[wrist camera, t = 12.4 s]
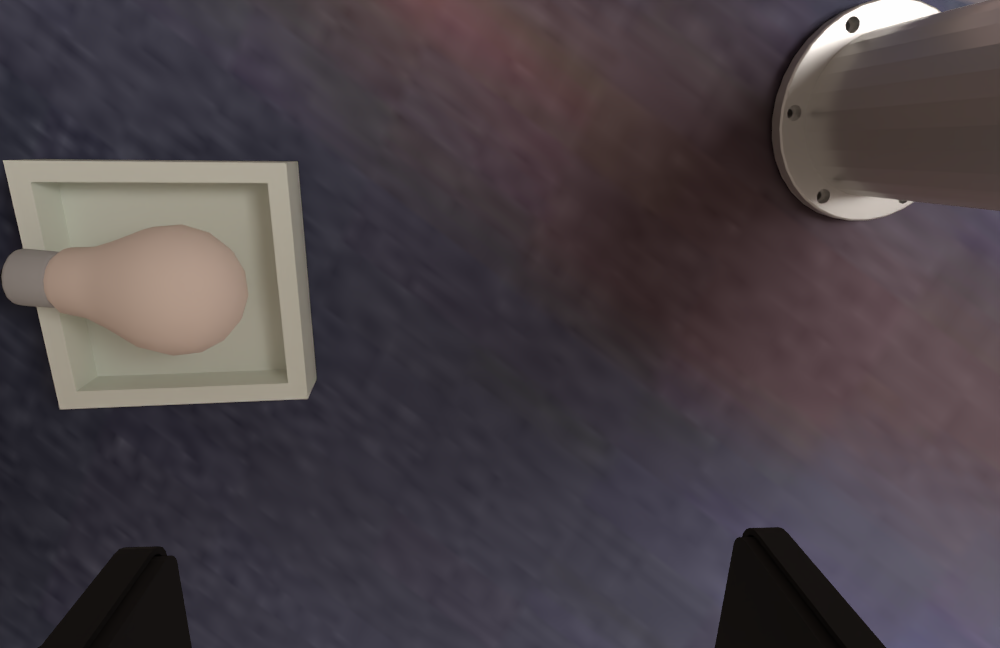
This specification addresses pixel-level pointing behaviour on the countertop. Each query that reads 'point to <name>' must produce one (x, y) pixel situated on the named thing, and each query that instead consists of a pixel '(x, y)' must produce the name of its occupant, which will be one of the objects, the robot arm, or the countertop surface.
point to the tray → (162, 202)
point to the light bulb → (139, 287)
